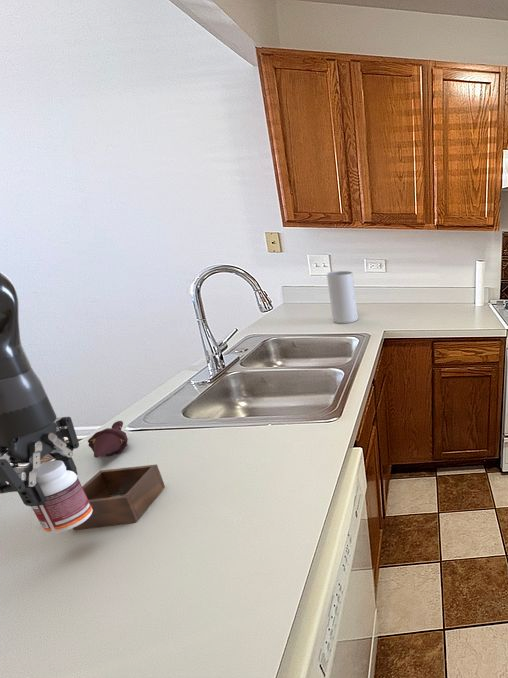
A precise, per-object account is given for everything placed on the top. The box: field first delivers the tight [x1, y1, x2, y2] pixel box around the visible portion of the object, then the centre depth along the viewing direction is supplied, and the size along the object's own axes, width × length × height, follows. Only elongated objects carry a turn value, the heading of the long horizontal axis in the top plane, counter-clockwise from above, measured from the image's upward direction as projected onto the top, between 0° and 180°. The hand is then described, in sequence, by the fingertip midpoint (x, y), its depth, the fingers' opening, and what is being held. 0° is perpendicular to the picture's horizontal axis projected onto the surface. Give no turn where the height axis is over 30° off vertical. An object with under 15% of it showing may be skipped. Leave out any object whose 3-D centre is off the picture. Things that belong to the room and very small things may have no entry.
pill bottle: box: [22, 459, 93, 534], centre depth 67 cm, size 6×6×11 cm
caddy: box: [72, 464, 166, 531], centre depth 80 cm, size 11×11×6 cm
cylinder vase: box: [326, 270, 359, 324], centre depth 206 cm, size 12×12×25 cm
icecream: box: [87, 420, 129, 459], centre depth 97 cm, size 7×7×15 cm
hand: (54, 490), depth 66 cm, fingers closed on pill bottle, 6 cm apart
